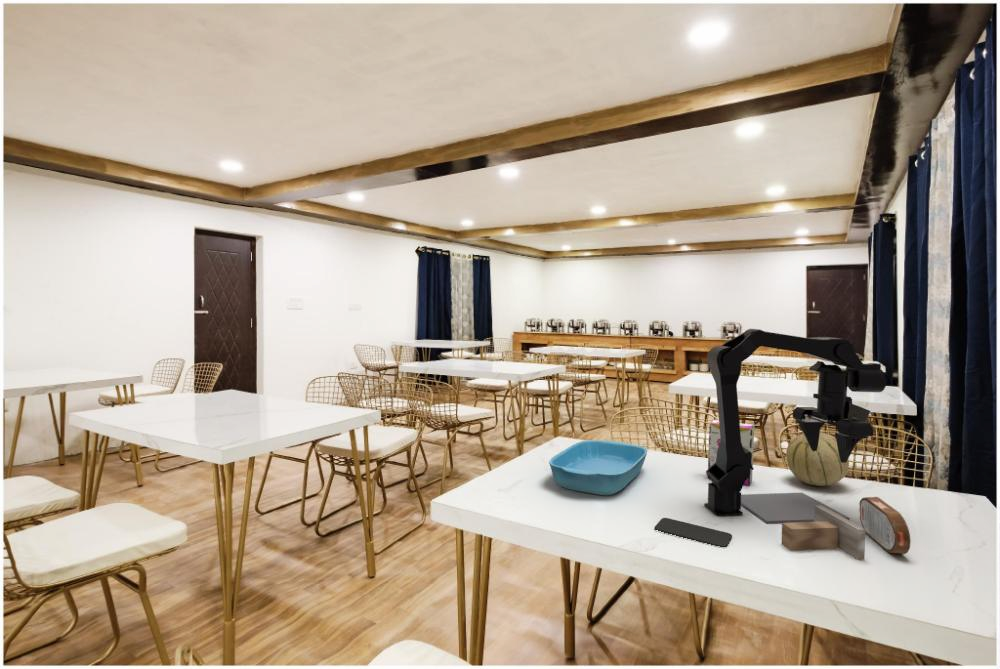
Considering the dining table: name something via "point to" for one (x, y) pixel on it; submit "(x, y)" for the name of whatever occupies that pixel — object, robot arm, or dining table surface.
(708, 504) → the robot arm
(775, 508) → the tool mat
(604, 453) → the casserole dish
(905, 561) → the dining table surface
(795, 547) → the t-shaped pusher tool
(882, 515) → the tin
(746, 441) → the candy bar box
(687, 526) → the phone
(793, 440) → the cantaloupe
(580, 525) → the dining table surface
